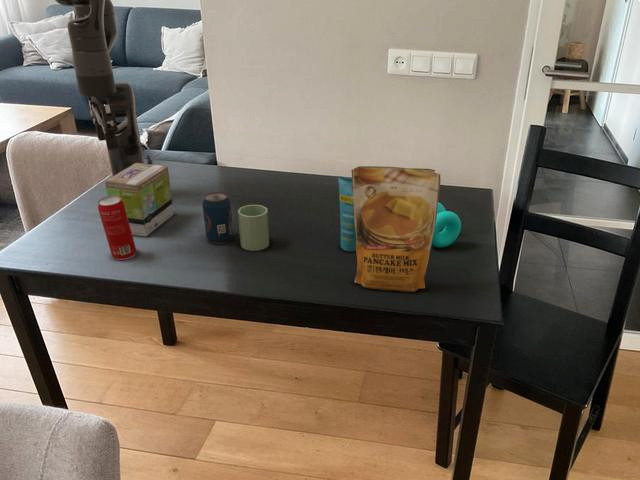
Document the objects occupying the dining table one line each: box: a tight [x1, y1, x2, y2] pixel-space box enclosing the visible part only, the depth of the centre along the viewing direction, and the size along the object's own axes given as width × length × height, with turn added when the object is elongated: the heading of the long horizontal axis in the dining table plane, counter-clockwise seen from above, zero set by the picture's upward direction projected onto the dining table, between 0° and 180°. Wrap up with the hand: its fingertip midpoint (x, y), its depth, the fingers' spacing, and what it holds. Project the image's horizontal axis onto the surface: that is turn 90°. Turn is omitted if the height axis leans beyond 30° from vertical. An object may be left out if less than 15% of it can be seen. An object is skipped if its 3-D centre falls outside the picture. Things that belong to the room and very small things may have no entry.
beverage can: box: [97, 195, 137, 261], centre depth 141 cm, size 6×6×15 cm
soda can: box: [201, 191, 234, 245], centre depth 151 cm, size 7×7×12 cm
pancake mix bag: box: [350, 165, 441, 293], centre depth 130 cm, size 7×19×28 cm, turn 84°
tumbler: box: [237, 204, 270, 252], centre depth 149 cm, size 7×7×10 cm
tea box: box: [104, 163, 174, 237], centre depth 156 cm, size 15×10×15 cm, turn 168°
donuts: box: [431, 201, 462, 249], centre depth 154 cm, size 10×10×10 cm
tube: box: [337, 175, 356, 252], centre depth 147 cm, size 7×5×19 cm, turn 72°
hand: (108, 144), depth 135 cm, fingers open, 8 cm apart
